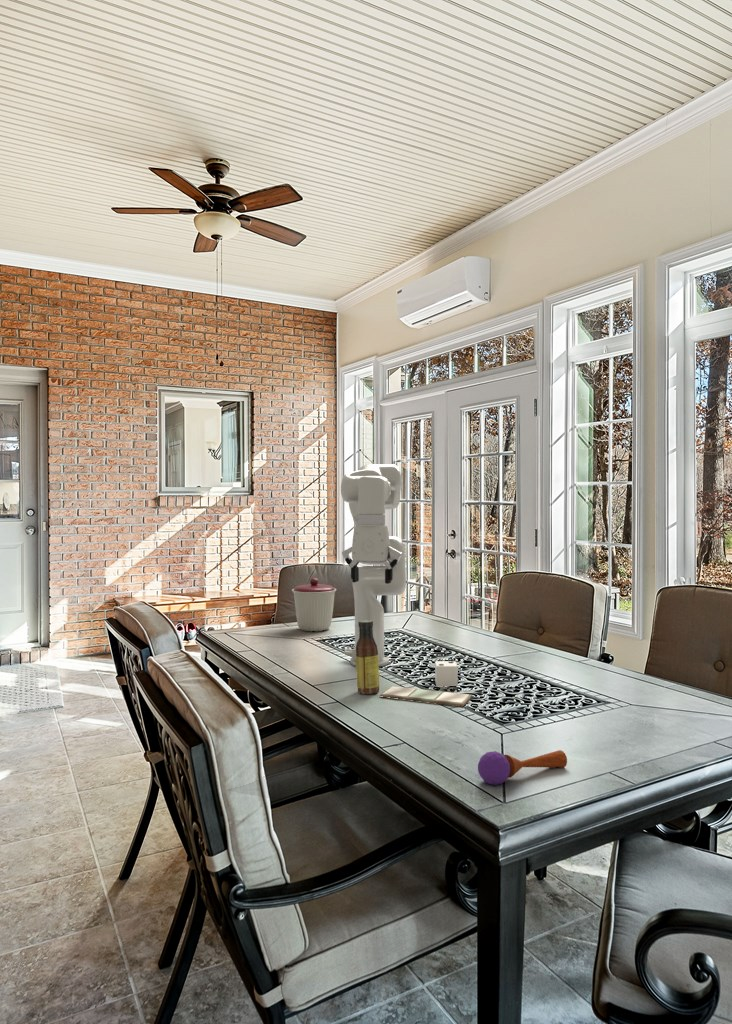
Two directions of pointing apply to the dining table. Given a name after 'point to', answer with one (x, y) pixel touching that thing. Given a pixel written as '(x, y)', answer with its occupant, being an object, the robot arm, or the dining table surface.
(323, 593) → the canister
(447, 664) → the die
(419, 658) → the dining table surface
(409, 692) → the board
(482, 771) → the kendama
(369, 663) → the sauce bottle
